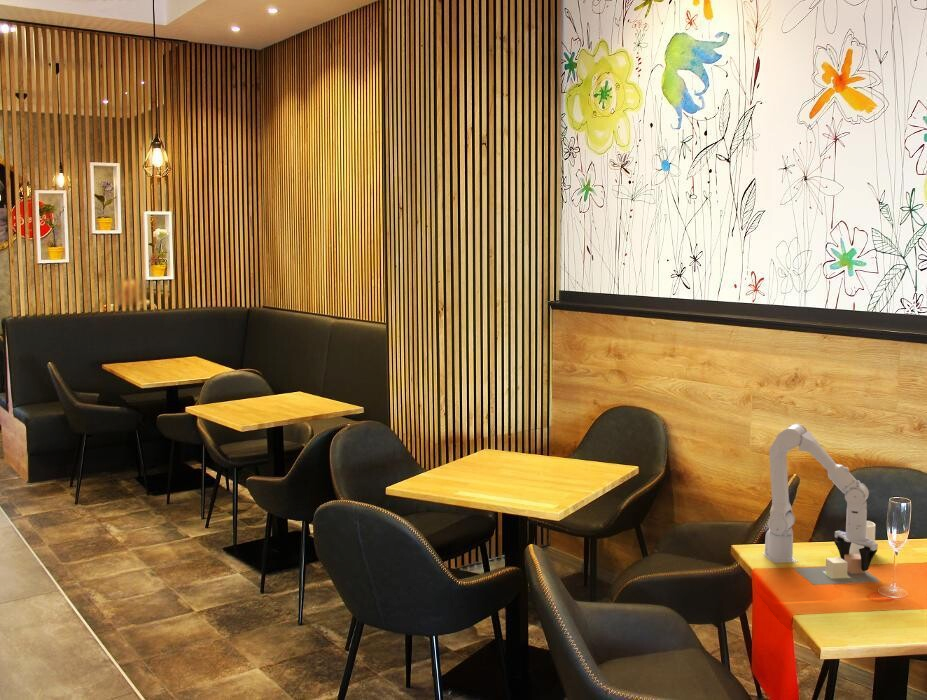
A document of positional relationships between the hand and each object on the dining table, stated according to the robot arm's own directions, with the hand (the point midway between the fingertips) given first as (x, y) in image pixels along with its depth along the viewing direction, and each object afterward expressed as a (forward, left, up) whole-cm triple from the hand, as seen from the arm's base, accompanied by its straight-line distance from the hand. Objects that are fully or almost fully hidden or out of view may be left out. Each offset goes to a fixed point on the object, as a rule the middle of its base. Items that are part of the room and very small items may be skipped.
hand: (854, 566), depth 286 cm
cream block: (+2, -7, -1) cm, 8 cm away
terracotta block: (0, 0, -2) cm, 2 cm away
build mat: (+2, -7, -2) cm, 8 cm away
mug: (-14, +9, -2) cm, 17 cm away
